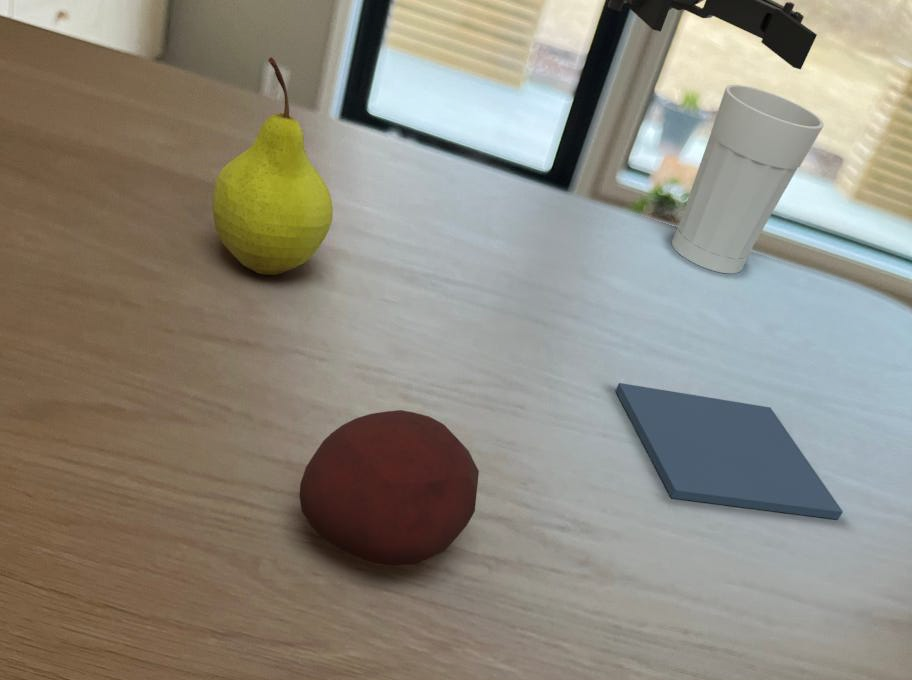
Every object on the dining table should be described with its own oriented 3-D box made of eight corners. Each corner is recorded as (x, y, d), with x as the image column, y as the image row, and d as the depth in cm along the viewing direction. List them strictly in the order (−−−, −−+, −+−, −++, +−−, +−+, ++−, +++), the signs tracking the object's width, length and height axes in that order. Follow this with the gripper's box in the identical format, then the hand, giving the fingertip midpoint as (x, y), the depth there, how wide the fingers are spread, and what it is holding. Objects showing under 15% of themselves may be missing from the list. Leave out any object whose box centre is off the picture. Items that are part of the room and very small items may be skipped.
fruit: (289, 240, 68) (324, 41, 60) (338, 293, 65) (382, 89, 57) (190, 240, 65) (213, 28, 57) (236, 296, 61) (268, 78, 53)
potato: (491, 584, 48) (534, 478, 44) (327, 607, 44) (358, 493, 40) (421, 486, 52) (455, 381, 48) (266, 499, 48) (288, 385, 44)
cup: (645, 229, 88) (706, 78, 80) (717, 236, 92) (782, 92, 84) (695, 275, 83) (766, 120, 76) (769, 281, 87) (844, 133, 79)
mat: (766, 414, 68) (770, 407, 68) (838, 519, 61) (843, 511, 60) (615, 390, 65) (618, 382, 65) (671, 498, 58) (675, 489, 57)
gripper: (738, 33, 106) (836, 112, 91) (513, -29, 97) (582, 46, 83) (774, -51, 101) (884, 18, 86) (539, -125, 92) (618, -62, 78)
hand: (736, 32), depth 85 cm, fingers open, 13 cm apart
